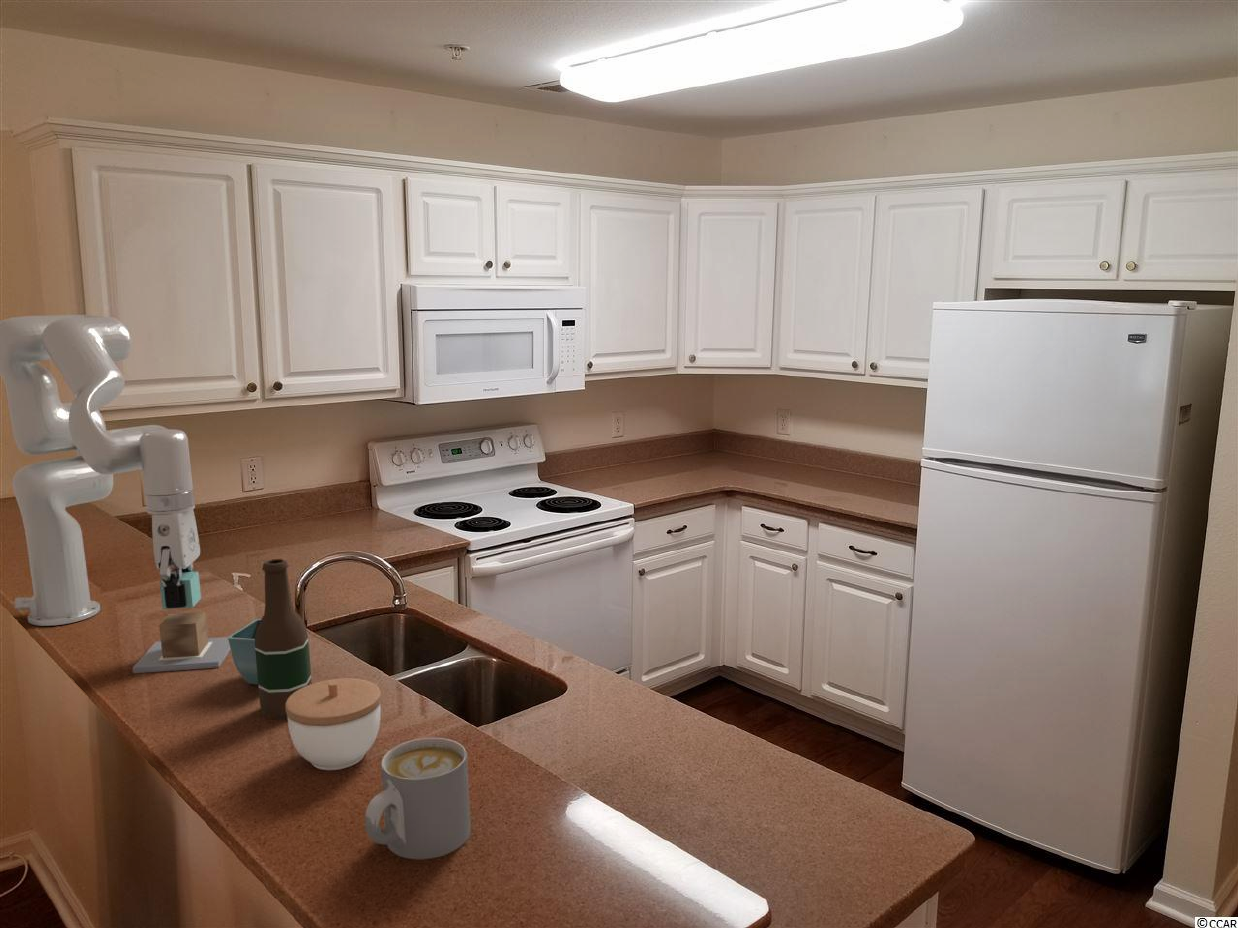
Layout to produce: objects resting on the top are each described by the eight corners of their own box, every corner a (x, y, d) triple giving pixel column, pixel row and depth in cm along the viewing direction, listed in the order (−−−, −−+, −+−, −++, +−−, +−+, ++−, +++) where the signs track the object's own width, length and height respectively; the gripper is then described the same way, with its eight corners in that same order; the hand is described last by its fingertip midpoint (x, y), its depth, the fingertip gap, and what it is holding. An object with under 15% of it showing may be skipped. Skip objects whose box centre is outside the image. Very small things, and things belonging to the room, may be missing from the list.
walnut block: (162, 658, 162) (159, 625, 161) (173, 645, 168) (169, 613, 167) (199, 655, 163) (195, 623, 162) (208, 642, 169) (205, 611, 168)
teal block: (162, 609, 161) (159, 581, 160) (171, 599, 166) (168, 573, 165) (193, 607, 162) (190, 579, 161) (201, 598, 167) (198, 571, 166)
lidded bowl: (333, 790, 121) (327, 712, 119) (270, 765, 128) (264, 690, 126) (403, 749, 132) (399, 676, 130) (341, 728, 138) (336, 658, 136)
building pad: (133, 673, 159) (132, 666, 159) (156, 646, 171) (155, 640, 171) (219, 667, 161) (218, 660, 161) (236, 641, 173) (235, 635, 173)
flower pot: (279, 693, 151) (275, 640, 149) (231, 688, 152) (226, 637, 151) (308, 671, 159) (304, 621, 157) (261, 667, 161) (257, 618, 159)
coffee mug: (443, 802, 118) (439, 729, 116) (486, 835, 111) (483, 758, 109) (344, 844, 110) (338, 766, 108) (384, 883, 102) (379, 800, 100)
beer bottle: (264, 724, 140) (250, 571, 135) (257, 704, 147) (244, 558, 142) (317, 713, 143) (305, 564, 139) (309, 694, 150) (297, 551, 146)
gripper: (178, 511, 153) (189, 616, 156) (207, 490, 169) (216, 585, 173) (129, 514, 152) (142, 620, 155) (163, 492, 168) (174, 588, 172)
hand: (181, 600), depth 164 cm, fingers closed on teal block, 5 cm apart
